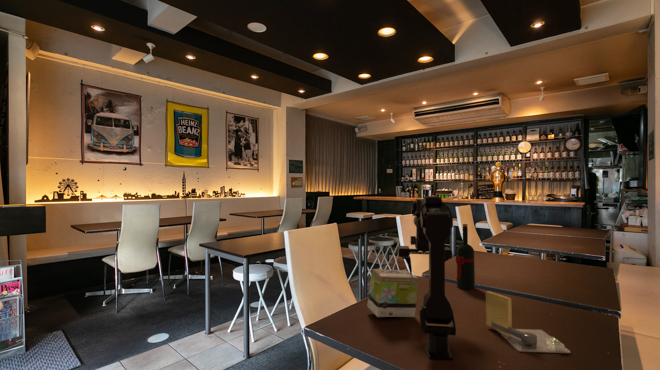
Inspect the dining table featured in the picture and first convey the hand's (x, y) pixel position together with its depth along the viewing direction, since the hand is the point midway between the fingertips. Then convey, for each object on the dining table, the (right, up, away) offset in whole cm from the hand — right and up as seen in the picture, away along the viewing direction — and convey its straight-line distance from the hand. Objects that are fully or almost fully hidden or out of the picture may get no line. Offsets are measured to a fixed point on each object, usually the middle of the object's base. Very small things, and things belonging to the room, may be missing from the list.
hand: (424, 275), depth 118 cm
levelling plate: (+27, -15, -20) cm, 36 cm away
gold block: (+22, -14, -17) cm, 31 cm away
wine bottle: (+29, -16, +34) cm, 47 cm away
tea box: (-12, -14, +1) cm, 19 cm away
